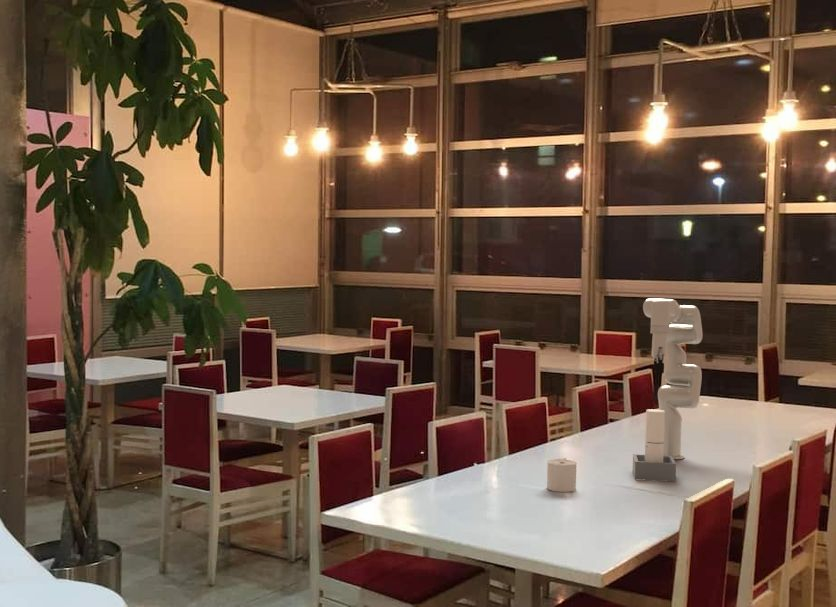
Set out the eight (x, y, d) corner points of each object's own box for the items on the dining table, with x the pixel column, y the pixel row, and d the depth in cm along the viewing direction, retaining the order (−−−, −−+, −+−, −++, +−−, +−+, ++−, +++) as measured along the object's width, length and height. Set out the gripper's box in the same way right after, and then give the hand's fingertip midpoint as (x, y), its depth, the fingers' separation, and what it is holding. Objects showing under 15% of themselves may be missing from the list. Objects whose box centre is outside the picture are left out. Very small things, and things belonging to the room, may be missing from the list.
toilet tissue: (553, 492, 346) (554, 465, 346) (540, 485, 358) (541, 459, 357) (580, 491, 349) (581, 464, 348) (567, 484, 360) (567, 458, 360)
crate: (632, 471, 386) (633, 454, 386) (671, 473, 383) (672, 456, 383) (634, 479, 371) (635, 461, 370) (675, 481, 368) (676, 463, 368)
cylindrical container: (655, 475, 372) (657, 412, 371) (640, 472, 378) (642, 410, 377) (666, 473, 377) (668, 411, 376) (651, 470, 382) (653, 408, 381)
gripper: (648, 328, 397) (647, 369, 398) (652, 331, 380) (650, 373, 381) (667, 328, 396) (666, 369, 397) (671, 331, 379) (670, 374, 380)
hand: (658, 371), depth 389 cm, fingers open, 9 cm apart
